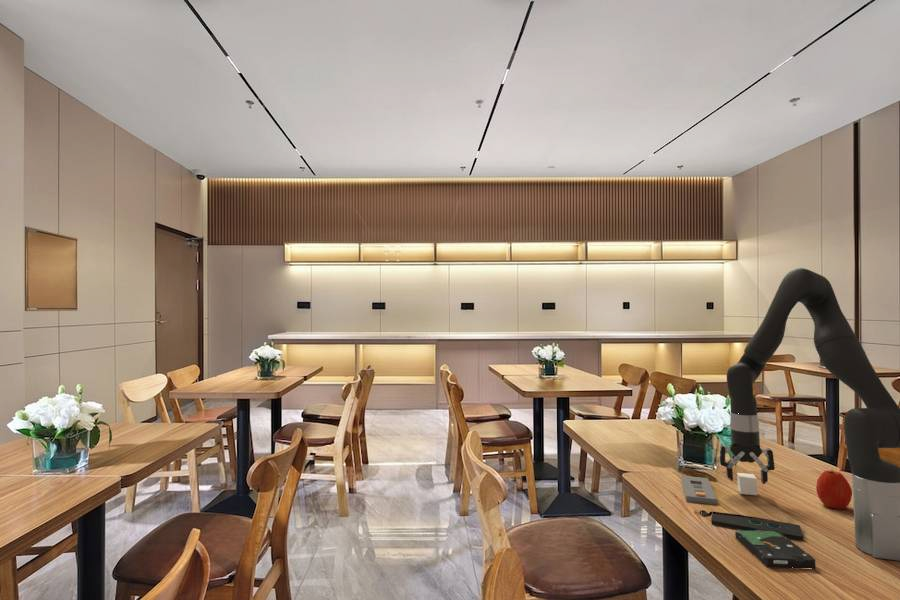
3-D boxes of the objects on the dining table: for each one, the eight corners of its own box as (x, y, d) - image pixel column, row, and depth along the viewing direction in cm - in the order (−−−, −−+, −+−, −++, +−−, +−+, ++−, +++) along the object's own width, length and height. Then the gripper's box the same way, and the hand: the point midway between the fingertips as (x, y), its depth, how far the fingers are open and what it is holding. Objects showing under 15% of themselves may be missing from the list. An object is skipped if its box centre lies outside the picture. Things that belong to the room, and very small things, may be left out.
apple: (849, 504, 140) (847, 467, 140) (856, 514, 132) (854, 475, 133) (815, 499, 144) (813, 463, 144) (819, 508, 137) (817, 471, 137)
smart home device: (803, 536, 117) (711, 519, 127) (803, 543, 117) (711, 526, 127) (800, 524, 124) (712, 509, 134) (800, 530, 124) (713, 515, 134)
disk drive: (817, 572, 104) (777, 540, 118) (816, 559, 104) (777, 529, 118) (767, 570, 105) (734, 539, 119) (766, 557, 105) (733, 528, 120)
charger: (757, 500, 143) (756, 478, 143) (740, 498, 144) (739, 477, 145) (754, 495, 147) (753, 474, 147) (738, 493, 148) (737, 472, 149)
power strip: (720, 518, 131) (720, 505, 131) (688, 514, 134) (688, 501, 134) (708, 487, 156) (707, 476, 156) (681, 484, 159) (680, 473, 159)
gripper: (720, 429, 146) (722, 482, 145) (775, 432, 140) (777, 488, 139) (716, 424, 153) (718, 475, 152) (768, 427, 147) (771, 480, 146)
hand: (747, 481), depth 146 cm, fingers open, 8 cm apart
